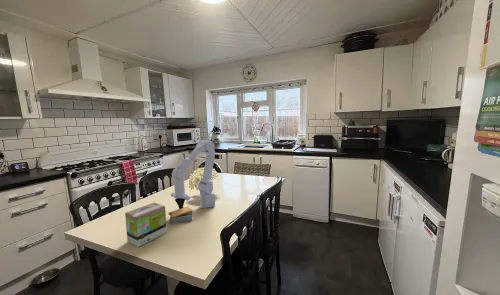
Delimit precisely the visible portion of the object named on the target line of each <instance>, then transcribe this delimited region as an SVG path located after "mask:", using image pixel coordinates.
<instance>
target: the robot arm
mask: <svg viewBox="0 0 500 295" xmlns="http://www.w3.org/2000/svg"><path fill="white" fill-rule="evenodd" d="M215 147H216V145H215V143H214V142H213V141H211V140H204V139H203V140H202V139H201V140H199V141H198V143H196V146H195V147H194V149H193V150H192V152H190V154H189V156H188V157H187V158H183V159H181V162H180V164H178V165H177V166H176V168H174V169H173V170H172V172H171V176H172V177H173V188H174V192H172V193H170V196H171V197H173V199H174V202H175V203H176V204H177V207H178V209H181V208H184V205H185V201H187V202H188V201H190V200H191V196H190V195H187V194H186V192H185V191H186V189H185V176H186V174H187V171H188V170H189V169H190V168H191V166H192V165H193V162H194V160H195V159H196V158H197V157H198V156H199V155H200V153H205V155H206V157H205V161H204V162H205V163H204V168H203V174H202V178H201V179H200V181H199V183H198V185H197V190H198V191H199V195H200V204H199V205H200V209H205V208H214V207H216V199H215V198H216V196H215V191H213V190H214V186H213V185H214V183H213V180H212V175H213V168H214V163H215V156H216V151H215Z"/></svg>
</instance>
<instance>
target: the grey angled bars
mask: <svg viewBox="0 0 500 295" xmlns="http://www.w3.org/2000/svg"><path fill="white" fill-rule="evenodd" d="M183 215H187V216H183ZM179 216H182V217H177V216H176V217H173V218H172V217H171V216H170V215H169V224H170V225H172V224H177V223H178V224H180V223H185V222H192V221H193V210H192V211H191V212H188V213H185V214H182V215H179Z"/></svg>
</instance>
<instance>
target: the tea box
mask: <svg viewBox="0 0 500 295" xmlns="http://www.w3.org/2000/svg"><path fill="white" fill-rule="evenodd" d="M124 214H125V215H124V216H125V217H124V218H125V229H126V240H127V242H128V243H130V245H131V244H132V245H134V246H135V247H137V248H139V247H141V246H144V245H146V244H147V243H149V242H151V241H153V240H155V239H156V238H158V237H161V236H163V235H165V234H167V217H166V216H167V213H166V206H165V205H162V204H160V203H157V202H151V203H148V204H146V205H143V206H141V207H137V208H135V209H132V210H129V211H126V212H125V213H124Z"/></svg>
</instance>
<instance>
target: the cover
mask: <svg viewBox="0 0 500 295" xmlns="http://www.w3.org/2000/svg"><path fill="white" fill-rule="evenodd" d="M191 211H192V212H193V209H192V208H190V207H189V206H185V207H184V206H183V208H181V209H179V208H178V209H174V210H173V211H169V212H167V214H168V216H169V217H170V216H171V217H172V218H173V217H176V216H179V215H182V214H185V213H188V212H191Z"/></svg>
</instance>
